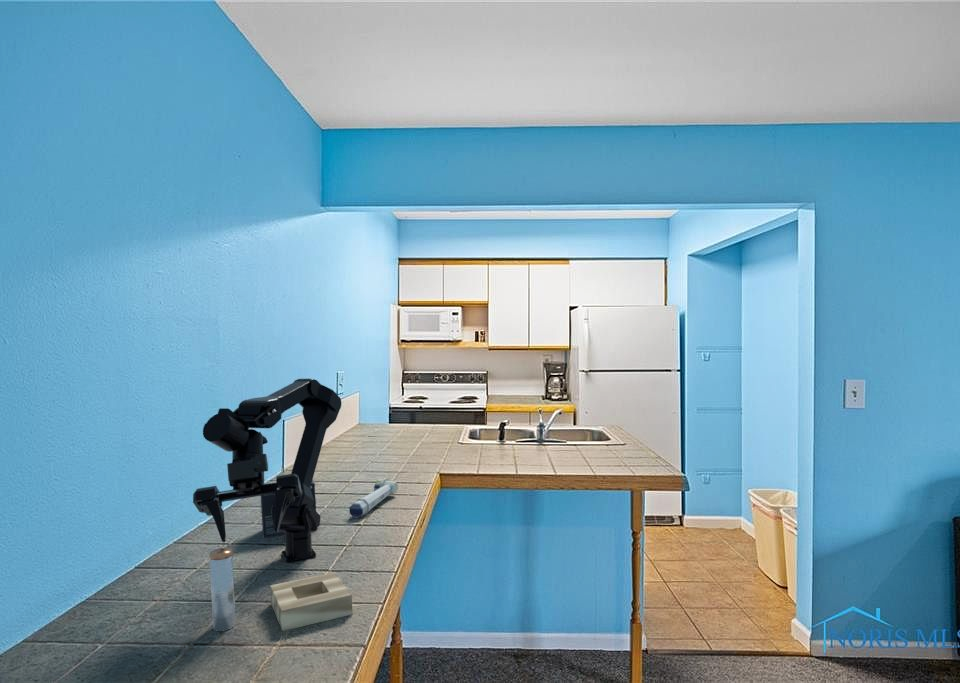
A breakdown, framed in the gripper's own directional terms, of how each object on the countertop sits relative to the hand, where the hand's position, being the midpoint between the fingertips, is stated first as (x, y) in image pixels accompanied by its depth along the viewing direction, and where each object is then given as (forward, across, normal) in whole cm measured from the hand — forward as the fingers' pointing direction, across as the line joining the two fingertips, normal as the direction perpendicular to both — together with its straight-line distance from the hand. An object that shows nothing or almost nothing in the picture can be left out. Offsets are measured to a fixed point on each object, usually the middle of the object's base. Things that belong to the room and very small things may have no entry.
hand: (250, 536), depth 115 cm
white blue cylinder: (-26, +22, +56) cm, 66 cm away
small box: (-15, +2, +44) cm, 47 cm away
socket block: (+14, +9, +5) cm, 17 cm away
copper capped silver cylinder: (+14, -5, +2) cm, 15 cm away
